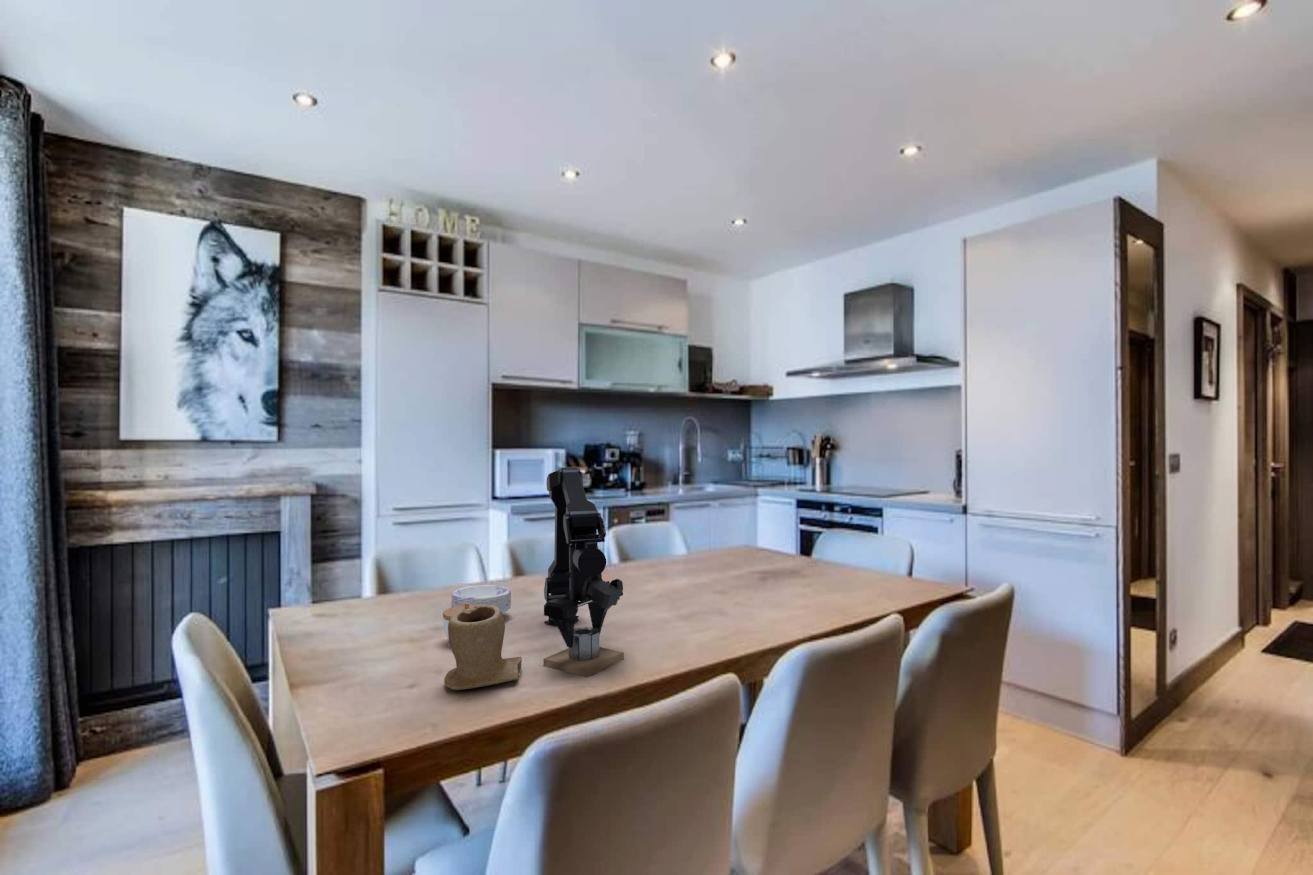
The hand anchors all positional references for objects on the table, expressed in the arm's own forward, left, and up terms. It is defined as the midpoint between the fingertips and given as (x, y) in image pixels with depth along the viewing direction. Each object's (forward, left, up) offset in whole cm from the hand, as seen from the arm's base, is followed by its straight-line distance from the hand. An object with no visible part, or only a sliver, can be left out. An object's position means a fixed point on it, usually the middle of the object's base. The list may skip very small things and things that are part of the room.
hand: (583, 641), depth 133 cm
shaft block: (0, 0, -4) cm, 4 cm away
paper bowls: (-44, +11, -5) cm, 46 cm away
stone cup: (-9, -19, -5) cm, 22 cm away
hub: (0, 0, -3) cm, 3 cm away
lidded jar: (-32, -4, -5) cm, 33 cm away
